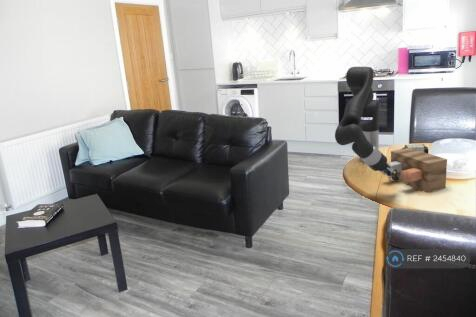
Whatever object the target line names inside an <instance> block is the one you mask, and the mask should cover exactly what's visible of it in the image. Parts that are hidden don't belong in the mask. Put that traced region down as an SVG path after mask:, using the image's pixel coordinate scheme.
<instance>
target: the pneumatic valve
mask: <svg viewBox="0 0 476 317" xmlns="http://www.w3.org/2000/svg"><path fill="white" fill-rule="evenodd" d="M404 148H411V149H415V150H418V151H421V152H425V153H428V154H429V147H428V146H426V145H425V144H424V143H421V144H420V143H419V144H418V143H413V144H412V143H411V144H404V147H402V148H401V149H404Z"/></svg>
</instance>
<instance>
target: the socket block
mask: <svg viewBox="0 0 476 317" xmlns="http://www.w3.org/2000/svg"><path fill="white" fill-rule="evenodd" d="M403 148H404V147H403ZM395 161H399V162H402V163H403V170H408V169H413V168H419V169H422V170H423V173H422V179H420V180H416V181H412V182H409V183H405V182H403V181H402V179H401V172H398V173H397V176H398V177H399V180H398V181H399V182H402V183H403V184H406V185H408V186H411V187H413V188H416V189H418V190H421V191H423V192H425V193H431V192H434V191H438V190H441V189H445V188H446V186H447V168H448V158H444V157H441V156H438V155H434V154H432V153H431V154H430V153H429V152H428V153H425V152H421V151H418V150H415V149H411V148H404V149H402V148H400V149H396V150H391V151H390V162H395Z"/></svg>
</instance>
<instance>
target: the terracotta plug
mask: <svg viewBox="0 0 476 317" xmlns="http://www.w3.org/2000/svg"><path fill="white" fill-rule="evenodd" d="M422 173H423V170H422V169H419V168H413V169H408V170H403V171H402V172H401V179H402V181H403V182H405V183H404V184H406V183H409V182H412V181H416V180H420V179H422ZM403 182H402V183H403Z"/></svg>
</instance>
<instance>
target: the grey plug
mask: <svg viewBox="0 0 476 317" xmlns="http://www.w3.org/2000/svg"><path fill="white" fill-rule="evenodd" d="M387 163H388V164H389V165H390V167H391V168H392V169H396V170H397V173H398V172H402V171H403V163H402V162H399V161H395V162H391V161H390V162H387Z"/></svg>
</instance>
